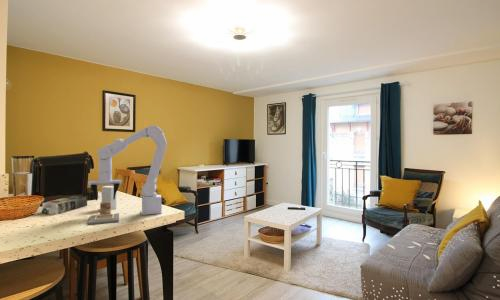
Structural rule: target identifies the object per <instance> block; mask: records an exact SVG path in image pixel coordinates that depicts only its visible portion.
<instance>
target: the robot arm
mask: <svg viewBox="0 0 500 300" xmlns="http://www.w3.org/2000/svg"><path fill="white" fill-rule="evenodd" d="M142 138H150V139H151V140H153V142H154V144H155V145H156V147H155V150H154V151H155V152H154V155H153V157H152V161H151V165H150V168H149V172H148V175H147V178H146V181H145V183H144V184H143V185H142V186H141V193H142V194H141V210H140V215H141V216H145V215H157V214H162V208H163V207H162V195H161V194H158V193H157V192H156V191H157V189H158V185H157V181H158V177H159V174H160V169H161V167H162V163H163V160H164V158H165V157H164V156H165V153H166V150H167V146H168V143H167V139H166V137H165V134H164V131H163V130H162V129H161V127H159V126H157V125H155V124H154V125H153V124H152V125H150V126H147V127H144V128H141V129H140V130H138V131H137V132H135V133H133V134H131V135H129V136H128V137H125V139H123V138H115V139H114V141H113V142H111V143H110V144H108V143H107V144H105V146H102V147H100V148H99V149H98V150H97V151H96V152H97V158H98V180H89V181H88V182H87V185H88V186H90V189H91V191H92V193H93V196H94V198H95V201H98V198H99V197H98V186H112V185H113V186H114V195H113V199H115V195H116V196H117V191H118V190H119V188H120V185H122V184H123V180H122V179H113V162H112V161H113V160H112V159H113V157H114V156H115V155H118V154H119V153H121V152H123V151H125V150H127V148H128V146H129V145H131V144H132V143H135V142H136V141H138V140H141V139H142Z"/></svg>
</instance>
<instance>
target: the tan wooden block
mask: <svg viewBox="0 0 500 300" xmlns="http://www.w3.org/2000/svg"><path fill="white" fill-rule="evenodd" d="M99 203H100V204H99V212H100V213H99V215H106V214H112V210H111V201H109V202H102V201H100V202H99Z"/></svg>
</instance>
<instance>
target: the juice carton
mask: <svg viewBox="0 0 500 300" xmlns="http://www.w3.org/2000/svg"><path fill="white" fill-rule="evenodd" d="M41 205H42V210H41V214H48V215H60V214H64V213H67V212H71V211H74V210H77V209H82V208H84V207H85V208H86V207H87V206H88V196H87V195H71V196H67V197H62V198H58V199H55V200H54V199H53V200H49V201H46V202H42V204H41Z"/></svg>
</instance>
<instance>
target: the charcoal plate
mask: <svg viewBox="0 0 500 300" xmlns="http://www.w3.org/2000/svg"><path fill="white" fill-rule="evenodd" d="M119 221H120V213H119V212H117V213H111V214H106V215H100V214H97V215H95V214H94V215H90V216H89V220H88V222H87V225H88V226H92V225H103V224H111V223H112V224H113V223H119Z"/></svg>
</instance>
